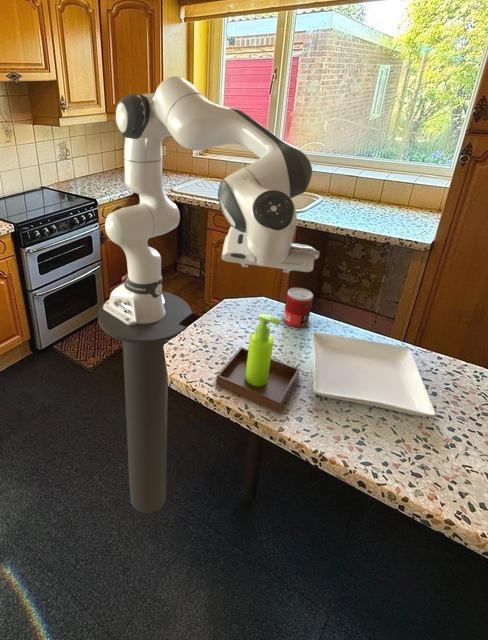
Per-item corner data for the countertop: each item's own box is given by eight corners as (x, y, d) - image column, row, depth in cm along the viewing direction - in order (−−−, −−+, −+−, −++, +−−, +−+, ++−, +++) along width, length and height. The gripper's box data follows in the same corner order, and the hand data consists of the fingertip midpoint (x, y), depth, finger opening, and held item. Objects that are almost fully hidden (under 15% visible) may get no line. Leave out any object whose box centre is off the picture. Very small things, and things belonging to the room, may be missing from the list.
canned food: (305, 330, 129) (310, 301, 124) (280, 323, 132) (285, 295, 127) (309, 319, 135) (315, 291, 130) (286, 313, 138) (290, 285, 133)
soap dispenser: (265, 391, 103) (275, 326, 94) (241, 380, 107) (248, 317, 98) (274, 379, 107) (285, 316, 98) (250, 368, 111) (258, 307, 102)
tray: (215, 385, 106) (216, 375, 105) (239, 355, 117) (240, 346, 116) (278, 413, 97) (280, 403, 96) (298, 378, 108) (300, 369, 107)
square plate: (309, 340, 124) (311, 330, 122) (407, 357, 117) (411, 346, 115) (310, 401, 101) (313, 389, 99) (433, 427, 93) (438, 415, 92)
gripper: (323, 236, 81) (312, 260, 94) (223, 225, 86) (225, 249, 99) (319, 265, 79) (309, 285, 92) (218, 252, 85) (221, 273, 97)
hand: (265, 266), depth 96 cm, fingers open, 8 cm apart
